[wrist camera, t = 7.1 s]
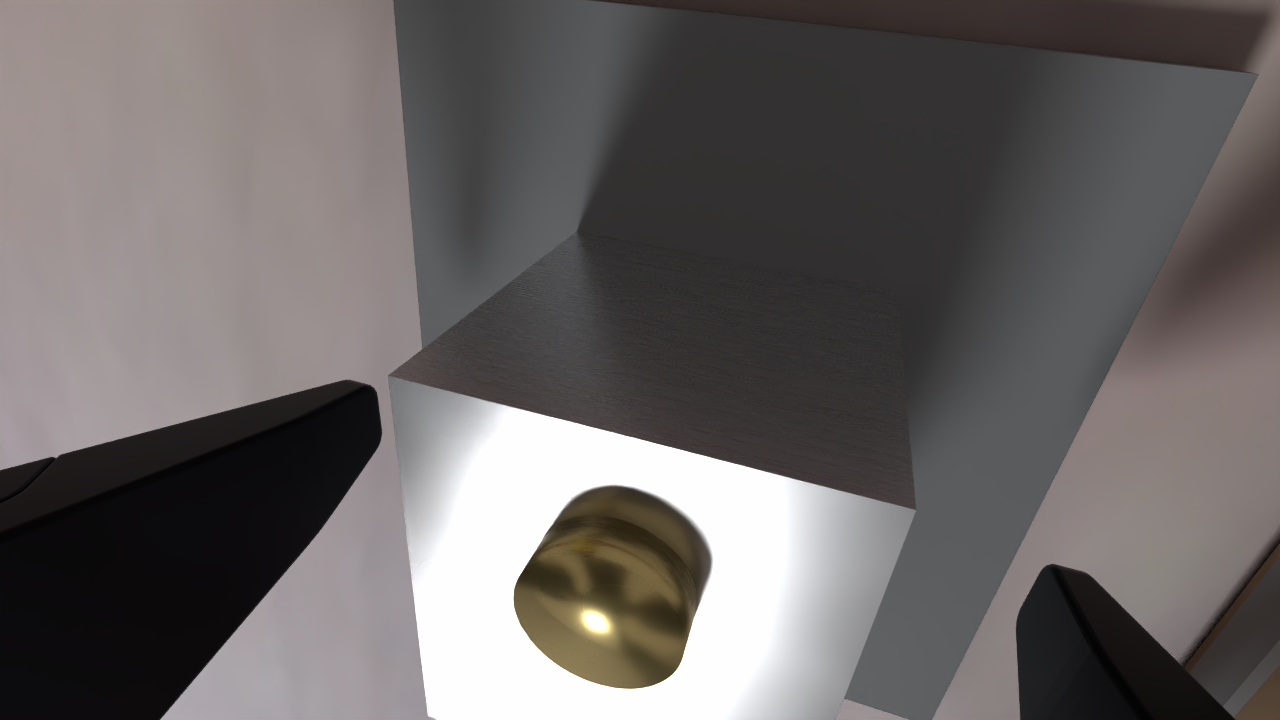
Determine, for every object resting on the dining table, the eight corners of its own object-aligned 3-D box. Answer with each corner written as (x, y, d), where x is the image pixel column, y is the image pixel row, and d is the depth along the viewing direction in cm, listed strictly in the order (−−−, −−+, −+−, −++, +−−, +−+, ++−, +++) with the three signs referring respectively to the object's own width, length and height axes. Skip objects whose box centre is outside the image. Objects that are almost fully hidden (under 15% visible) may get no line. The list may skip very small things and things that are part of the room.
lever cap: (814, 563, 11) (780, 901, 7) (566, 494, 12) (404, 753, 8) (896, 289, 9) (919, 557, 5) (576, 230, 10) (350, 404, 5)
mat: (926, 696, 13) (929, 725, 12) (455, 548, 15) (441, 568, 14) (1232, 69, 7) (1258, 74, 7) (417, -20, 9) (391, -22, 9)
